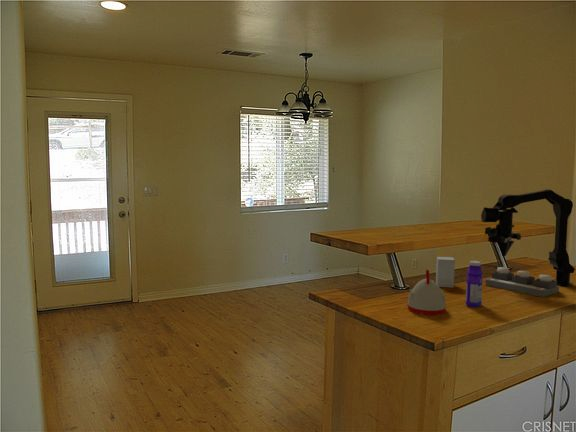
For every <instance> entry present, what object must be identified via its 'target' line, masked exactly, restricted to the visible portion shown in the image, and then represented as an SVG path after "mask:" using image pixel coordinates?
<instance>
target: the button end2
mask: <svg viewBox="0 0 576 432" xmlns="http://www.w3.org/2000/svg"><path fill="white" fill-rule="evenodd" d="M538 279H539V281H542V282H547V283H550V282H552V280H553V276H552V275H551V274H550V275H549V274H544V273H543V274H542V273H541V274H539V275H538Z"/></svg>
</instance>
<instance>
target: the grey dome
mask: <svg viewBox="0 0 576 432" xmlns="http://www.w3.org/2000/svg"><path fill="white" fill-rule="evenodd" d="M446 305H447V303H446V297H445V292H444V290H442V289H441V287H439V286H438V285H437V284H436V281H435V280H433V279H430V271H429V269H426V270H425V278H422V279H421V280H420V281H418V282H417V283H416V284H415V285H414V287H413V288H411V289H410V290H409V293H408V301H407V310H409V312H413V313H415V314H420V315H426V316H427V315H428V316H437V315H438V314H439V315H443V314H445V313H446V308H447V306H446Z"/></svg>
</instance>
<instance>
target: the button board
mask: <svg viewBox="0 0 576 432" xmlns="http://www.w3.org/2000/svg"><path fill="white" fill-rule="evenodd" d="M535 278H536V277H535V276H531V275H530V278H528V279H525V278H520V277H517V274H515V273H513V272H510V271H509V274H507V275H504V274H498V273H497V271H493V272H492V273H491V278H486V279H485V286H488V287H494V288H498V289H504V290H506V291H507V290H508V291H513V292H518V293H523V294H527V295H532V296H535V297H537V296H538V297H542V298H545V297H548V296H551V295H554V294H557V293H559V292H560V285H557V281H556V280H554V279H552V282H550V283H547V282H542V281H539V278H536V279H535Z"/></svg>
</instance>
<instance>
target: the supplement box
mask: <svg viewBox="0 0 576 432" xmlns="http://www.w3.org/2000/svg"><path fill="white" fill-rule="evenodd" d="M455 264H456V259H455V258H454V257H451V256H436V263H435V266H436V268H435V283H436V284H437V285H438V286H439V287H440V288H455V267H456V266H455Z"/></svg>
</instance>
